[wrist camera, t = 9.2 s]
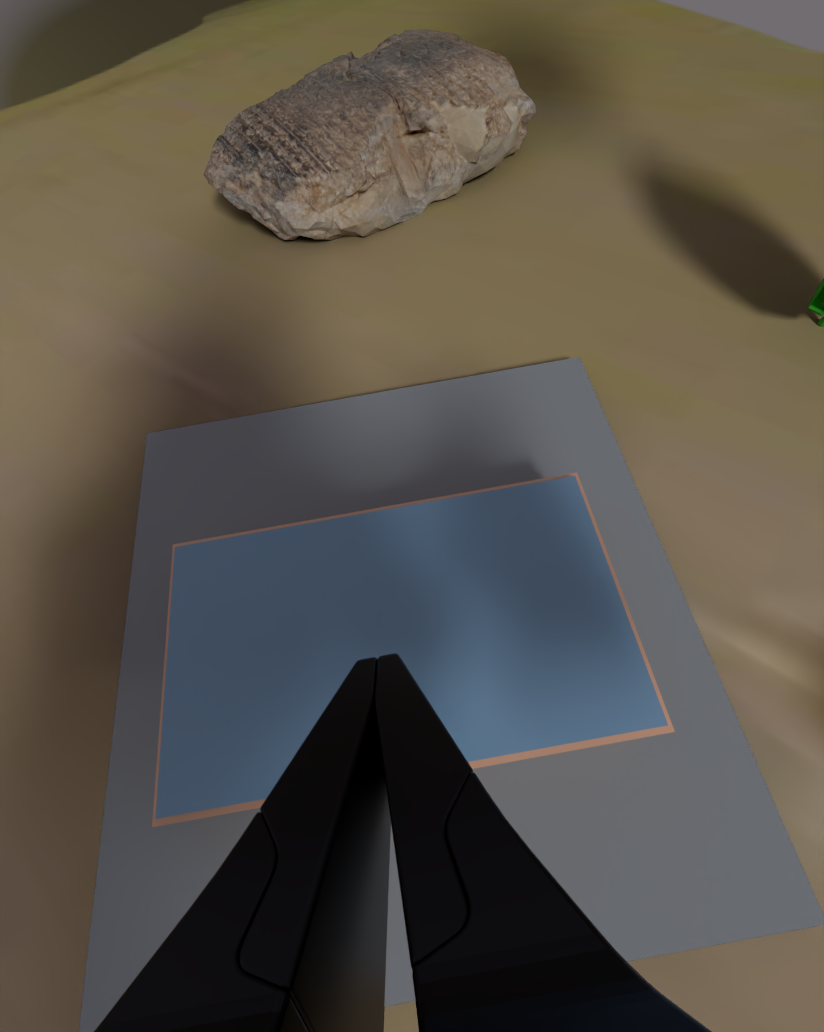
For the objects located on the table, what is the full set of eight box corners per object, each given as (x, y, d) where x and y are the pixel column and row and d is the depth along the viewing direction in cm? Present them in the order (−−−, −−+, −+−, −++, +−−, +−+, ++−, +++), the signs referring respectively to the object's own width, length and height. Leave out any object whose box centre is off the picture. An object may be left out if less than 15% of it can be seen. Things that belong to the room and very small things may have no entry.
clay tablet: (286, 300, 23) (559, 154, 26) (246, 205, 19) (580, 43, 22) (194, 191, 29) (431, 81, 32) (147, 97, 24) (427, -20, 27)
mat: (809, 913, 11) (827, 923, 11) (92, 1046, 11) (74, 1064, 11) (575, 366, 20) (579, 356, 19) (155, 440, 19) (146, 433, 19)
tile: (678, 732, 11) (579, 469, 14) (146, 829, 11) (169, 542, 14) (638, 726, 13) (560, 500, 16) (197, 807, 13) (206, 563, 16)
